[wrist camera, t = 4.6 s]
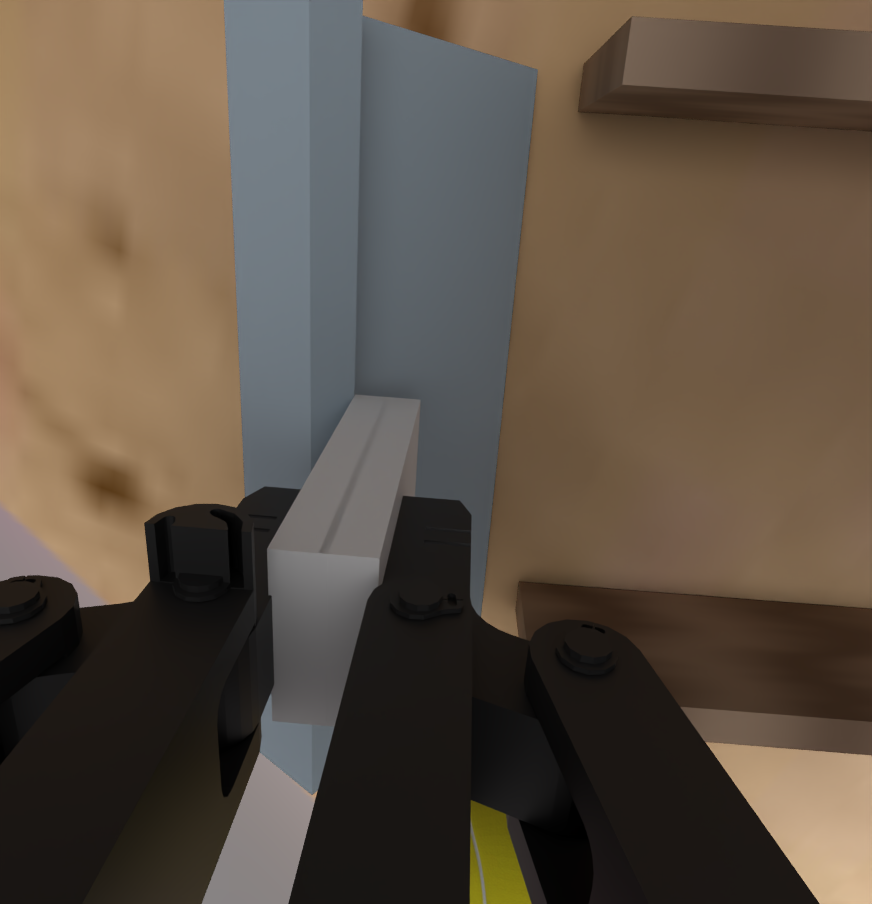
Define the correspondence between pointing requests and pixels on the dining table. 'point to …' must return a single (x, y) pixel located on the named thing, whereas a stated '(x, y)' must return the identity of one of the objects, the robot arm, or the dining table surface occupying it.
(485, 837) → the tennis ball
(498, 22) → the dining table surface
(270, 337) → the blue-grey book
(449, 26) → the dining table surface
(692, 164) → the dining table surface
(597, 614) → the crate
